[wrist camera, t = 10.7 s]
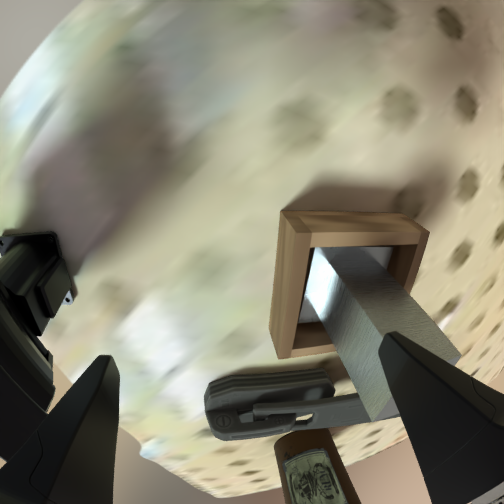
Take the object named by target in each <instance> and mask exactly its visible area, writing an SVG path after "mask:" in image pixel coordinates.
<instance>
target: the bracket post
mask: <svg viewBox="0 0 504 504" xmlns="http://www.w3.org/2000/svg"><path fill="white" fill-rule="evenodd" d="M393 248H394V247H393V246H392V245H375V246H342V247H311V248H310V251H309V257H308V264H307V270H306V276H305V282H304V288H303V294H302V299H301V305H300V311H299V316H298V321H297V322H298V323H307V322H319V321H321V322H322V324H323V326H324V328H325V330H326V332H327V333H328V335H329V337H330V339H331V341H332V343H333V345H334V347H335V349H336V351H337V353H338V355H339V357H340V359H341V361H342V363H343V365H344V367H345V369H346V370H347V372H348V374H349V376H350V378H351V380H352V382H353V384H354V386H355V388H356V390H357V392H358V394H359V397H360V399H361V401H362V403H363V405H364V407H365V409H366V411H367V413H368V415H369V417H370V419H371V421H372V422H375V421H378V420H381V419H384V418H387V417H390V416H393V415H396V414H399V411H398V409H397V406H396V404H395V402H394V399H393V397H392V395H391V392H390V389H389V387H388V384H387V380H386V377H385V374H384V371H383V368H382V365H381V361H380V358H379V355H378V349H379V346H380V344H381V342H382V340H383V337H384V335H385V334H386V333H388V332H393V331H397V332H399V333H400V334H402V335H404V336H405V337H407V338H409V339H410V340H412V341H414V342H415V343H417V344H419V345H420V346H422V347H424V348H425V349H427V350H429V351H430V352H432V353H434V354H435V355H437V356H439V357H440V358H442V359H444V360H445V361H447V362H448V363H450V364H452V365H453V366H455V364H456V363H457V362H458V360H459V359H460V357H461V356H462V355H461V354H460V352H459V351H458V350H457V349H456V347H455V346H454V345H453V344H452V343H451V341H450V340H449V339H448V338H447V337H446V335H445V334H444V333H443V332H442V331H441V329H440V328H439V327H438V326H437V325H436V324H435V323H434V321H433V320H432V319H431V318H430V317H429V316H428V315H427V313H426V312H425V311H424V310H423V309H422V308H421V307H420V306H419V304H418V303H417V302H416V301H415V300H414V299H413V298H412V297H411V296H410V295H409V294H408V292H407V291H406V290H405V289H404V288H403V287H402V286H401V285H400V284H399V283H398V282H397V281H396V280H395V279H394V278H393V277H392V276H391V274H390V273H389V272H388V271H387V267H388V264H389V261H390V258H391V254H392V251H393Z"/></svg>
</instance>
